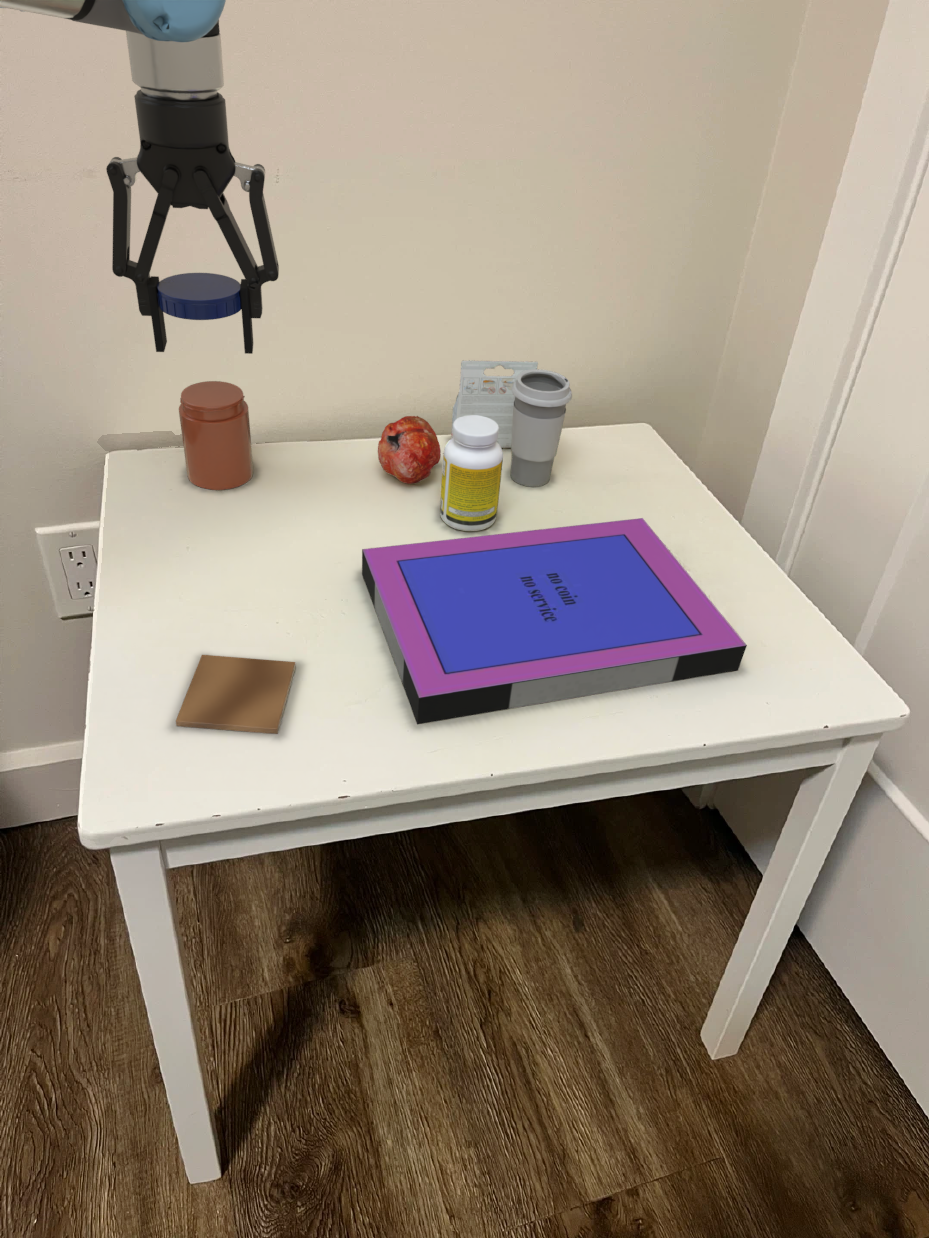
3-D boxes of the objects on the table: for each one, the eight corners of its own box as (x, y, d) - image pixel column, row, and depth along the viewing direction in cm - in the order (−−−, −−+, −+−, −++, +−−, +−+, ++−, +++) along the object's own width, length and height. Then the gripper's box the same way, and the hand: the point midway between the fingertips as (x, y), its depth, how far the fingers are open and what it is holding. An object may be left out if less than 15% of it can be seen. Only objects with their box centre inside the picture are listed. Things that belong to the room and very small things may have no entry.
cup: (566, 491, 105) (582, 394, 97) (510, 494, 103) (523, 395, 96) (547, 460, 110) (562, 366, 103) (494, 463, 109) (505, 367, 101)
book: (362, 549, 88) (642, 517, 96) (361, 574, 89) (637, 541, 98) (418, 697, 72) (746, 645, 80) (417, 724, 74) (738, 670, 82)
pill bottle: (507, 524, 98) (519, 431, 92) (460, 539, 96) (468, 444, 89) (474, 497, 102) (483, 406, 95) (428, 511, 99) (433, 418, 92)
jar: (179, 487, 99) (168, 406, 93) (196, 455, 105) (187, 376, 99) (245, 492, 100) (238, 411, 94) (259, 460, 105) (253, 382, 99)
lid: (251, 295, 93) (249, 276, 91) (232, 324, 86) (231, 303, 85) (172, 288, 92) (169, 269, 91) (147, 316, 86) (145, 296, 85)
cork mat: (176, 726, 72) (175, 720, 72) (202, 659, 78) (201, 654, 78) (277, 734, 72) (277, 728, 72) (295, 667, 78) (295, 661, 78)
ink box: (449, 439, 113) (456, 350, 105) (523, 439, 114) (534, 351, 107) (452, 450, 110) (459, 360, 103) (527, 450, 112) (539, 361, 105)
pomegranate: (400, 472, 110) (346, 444, 102) (436, 422, 108) (384, 390, 100) (435, 506, 106) (381, 480, 98) (473, 455, 104) (422, 424, 96)
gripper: (302, 90, 82) (309, 335, 97) (60, 75, 79) (104, 331, 93) (302, 106, 77) (310, 364, 91) (41, 90, 73) (91, 361, 88)
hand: (205, 347), depth 92 cm, fingers closed on lid, 8 cm apart
